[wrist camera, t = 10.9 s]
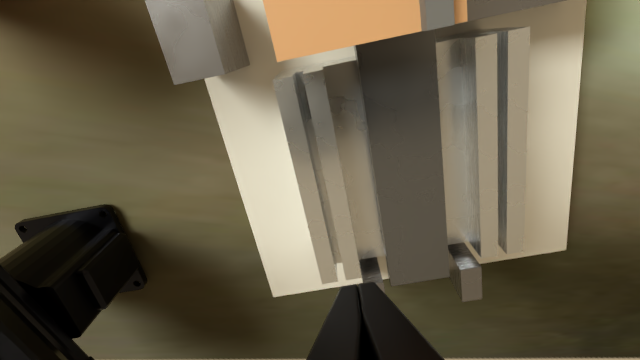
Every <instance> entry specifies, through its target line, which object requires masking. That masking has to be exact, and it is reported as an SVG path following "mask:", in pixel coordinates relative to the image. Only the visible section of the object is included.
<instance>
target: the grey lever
mask: <svg viewBox="0 0 640 360" xmlns="http://www.w3.org/2000/svg"><path fill="white" fill-rule="evenodd" d="M354 50H355V57H356V64H357V70H358V77H359V84H360V90H361V97H362V104H363V111H364V117H365V124H366V131H367V137H368V144H369V151H370V157H371V164H372V171H373V177H374V184H375V191H376V197H377V204H378V211H379V217H380V224H381V231H382V237H383V244H384V251H385V257H386V264H387V271H388V277H389V280H390V284H391V286H396V285H402V284H409V283H415V282H421V281H428V280H434V279H440V278H446V277H450V273H449V257H448V240H447V224H446V207H445V191H444V174H443V157H442V141H441V124H440V108H439V91H438V75H437V58H436V41H435V29H433V30H428V31H420V32H416V33H411V34H406V35H401V36H397V37H392V38H387V39H383V40H378V41H373V42H369V43H364V44H359V45H355V46H354Z"/></svg>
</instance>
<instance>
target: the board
mask: <svg viewBox="0 0 640 360" xmlns="http://www.w3.org/2000/svg"><path fill="white" fill-rule="evenodd" d="M233 1H234V5H235V9H236V13H237V17H238V20H239V24H240V28H241V32H242V36H243V39H244V43H245V47H246V51H247V55H248V58H249V62H250V65H249V66H246V67H243V68H241V69H238V70H235V71H233V72H230V73H227V74H224V75H219V76H215V77H210V78H205V82H206V85H207V89H208V92H209V95H210V98H211V101H212V104H213V108H214V111H215V114H216V117H217V120H218V123H219V127H220V130H221V133H222V136H223V139H224V142H225V146H226V149H227V152H228V155H229V158H230V161H231V165H232V168H233V171H234V174H235V177H236V180H237V184H238V187H239V190H240V193H241V196H242V199H243V203H244V206H245V209H246V212H247V215H248V218H249V222H250V225H251V228H252V231H253V234H254V237H255V241H256V244H257V247H258V250H259V253H260V256H261V260H262V263H263V266H264V269H265V272H266V275H267V279H268V282H269V285H270V288H271V291H272V294H273V297H278V296H284V295H290V294H296V293H302V292H309V291H315V290H321V289H327V288H334V287H340V286H346V285H352V284H358V283H363V281H362V278H358V279H352V280H346V278H345V274H344V269H343V264H342V263H337V275H338V282H333V283H327V284H322V282H321V278H320V273H319V269H318V265H317V261H316V257H315V253H314V249H313V245H312V241H311V237H310V232H309V228H308V224H307V220H306V216H305V212H304V208H303V204H302V200H301V196H300V191H299V187H298V183H297V179H296V175H295V171H294V167H293V163H292V159H291V155H290V150H289V146H288V142H287V138H286V134H285V130H284V126H283V122H282V118H281V114H280V110H279V105H278V101H277V97H276V93H275V89H274V85H273V81H272V80H273V79H275V76H276V75H278V74H279V73H280V72H281V71H284V70H289V69H294V68H299V67H303V66H308V65H313V64H318V63H322V62H327V61H332V60H337V59H341V58H346V57H351V56H355V50H354V46H350V47H345V48H340V49H336V50H331V51H326V52H322V53H317V54H312V55H308V56H303V57H298V58H294V59H289V60H284V61H280V62H277V59H276V55H275V51H274V46H273V42H272V38H271V34H270V29H269V25H268V21H267V17H266V12H265V8H264V4H263V0H233ZM586 5H587V0H566V1H562V2H557V3H552V4H548V5H543V6H538V7H534V8H529V9H524V10H519V11H515V12H510V13H505V14H501V15H496V16H491V17H487V18H482V19H477V20H473V21H468V22H463V23H458V24H455V25H452V26H447V27H442V28H438V29H435V39H436V38H441V37H445V36H450V35H455V34H460V33H464V32H469V31H474V30H479V29H490V28H506V27H528V26H530V53H529V88H528V123H527V158H526V193H525V228H524V252H518V253H512V254H506V253H505V252H504V251H503V250H502V248H501V247H500V246H499V245H498V256H493V257H487V258H481V257H480V256H479V255H478V253H477V252H476V251H475V249H474V248H473V247H472V245H471V244H470V243H469V242H464V243H465V244H466V246H467V247H468V249H469V250H470V251H471V253H472V254H473V256H474V257H475V259H476V260H477V261H478V263H479V264H482V263H489V262H495V261H501V260H507V259H513V258H520V257H526V256H532V255H538V254H544V253H551V252H557V251H563V250H566V245H567V233H568V221H569V209H570V197H571V185H572V173H573V161H574V149H575V137H576V125H577V113H578V101H579V89H580V77H581V65H582V53H583V41H584V29H585V17H586ZM377 260H378V264H379V268H380V272H381V276H382V279H389V277H388V271H387V264H386V257H385V256H379V257H377ZM360 270H361V269H360ZM361 276H362V275H361Z"/></svg>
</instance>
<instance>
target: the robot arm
mask: <svg viewBox="0 0 640 360" xmlns="http://www.w3.org/2000/svg"><path fill="white" fill-rule="evenodd" d="M102 211H104V212H106V214H107V215H105V214H104V213H103V212H102ZM25 227H26V228H27V229H26V228H25ZM15 230H16V232H17V233H18V235H19V237H20V238H21V240H22V241H23V244H21V245H20V246H18V247H17V248H15V249H14V250H12V251H11V252H10V253H8V254H7V255H5V256H4V257H2V258H1V259H0V360H94V359H93V358H92V357H91V356H90V357H88V356H87V354H86V353H85V352H84V351H83V350H82V349H81V348H80V347H79V346H78V345H77V344H76V343H75V342H74V341H73V340H72V339H73V338H78V337H80V336H81V335H82V334H83V333H84V332H85V330H86V329H87V328H88V327H89V325H90V324H91V323H92V322H93V320H94V319H95V318H96V317H97V315H98V314H99V313H100V312H101V310H103V309H106V308H107V307H108V305H109V304H110V303H111V302H112V300H113V299H114V298H115V297H116V295H117V294H118V293H121V292H127V291H133V290H139V289H142V288H143V287H144V286H145V285H146V283H147V279H146V277H145V274H144V272H143V270H142V268H141V266H140V263H139V261H138V259H137V257H136V255H135V253H134V251H133V249H132V247H131V245H130V243H129V241H128V238H127V236H126V235H125V233H124V231H123V228H122V226H121V224H120V222H119V220H118V218H117V216H116V214H115V212H114V210H113V208H112V207H110V206H109V205H98V206H93V207H87V208H82V209H77V210H72V211H66V212H61V213H56V214H50V215H45V216H40V217H35V218H29V219H24V220H22V221H20V222H18V223H17V224H16V225H15ZM137 281H139V282H140V283H139V282H137ZM306 360H444V358H443V357H442V356H441V355H440V354H439V353H438V352H437V351H436V350H435V348H434V347H433V346H432V345H431V344H430V343H429V342H428V341H427V340H426V339H425V337H424V336H423V335H422V334H421V333H420V332H419V331H418V330H417V329H416V327H415V326H414V325H413V324H412V323H411V322H410V321H409V320H408V319H407V318H406V316H405V315H404V314H403V313H402V312H401V311H400V310H399V309H398V308H397V306H396V305H395V304H394V303H393V302H392V301H391V300H390V299H389V298H388V296H387V295H386V294H385V293H384V292H383V291H382V290H381V289H380V288H379V287H378V285H377V284H376V283H375V282H366V283H360V284H359V285H358V286H357V285H356V284H353V285H347V286H342V287H341V288H340V290H339V292H338V294H337V296H336V298H335V300H334V302H333V305H332V307H331V309H330V311H329V313H328V315H327V317H326V319H325V321H324V324H323V326H322V328H321V330H320V332H319V334H318V336H317V338H316V340H315V342H314V345H313V347H312V349H311V351H310V353H309V355H308V357H307V359H306Z"/></svg>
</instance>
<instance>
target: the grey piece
mask: <svg viewBox="0 0 640 360" xmlns="http://www.w3.org/2000/svg"><path fill="white" fill-rule="evenodd" d="M562 1H566V0H467V22H468V21H473V20H477V19H482V18H487V17H491V16H496V15H501V14H505V13H510V12H515V11H519V10H524V9H529V8H534V7H538V6H543V5H548V4H552V3H557V2H562ZM145 3H146V6H147V9H148V11H149V14H150V17H151V20H152V23H153V26H154V29H155V31H156V34H157V37H158V40H159V43H160V46H161V49H162V51H163V54H164V57H165V60H166V63H167V66H168V69H169V71H170V74H171V77H172V80H173V83H174V85H177V84H182V83H186V82H191V81H196V80H201V79H205V78H210V77H215V76H219V75H224V74H227V73H230V72H233V71H235V70H238V69H241V68H243V67H246V66H249V65H250V62H249V58H248V55H247V51H246V47H245V43H244V39H243V36H242V32H241V28H240V24H239V20H238V17H237V13H236V9H235V5H234V1H233V0H145ZM462 23H463V22H462ZM435 41H436V58H437V75H438V91H439V108H440V124H441V141H442V157H443V174H444V191H445V207H446V224H447V240H448V257H449V273H450V277H449V278H450V280H451V282H452V284H453V286H454V287H455V289H456V291H457V293H458V295H459V297H460V298H461V300H462V302H466V301H472V300H479V299H482V269H481V266H480V264H479V263H478V261H477V260H476V259H475V257H474V256H473V254H472V253H471V251H470V250H469V249H468V247H467V246H466V244H465V243H464V242H469V243H470V244H471V245H472V247H473V248H474V249H475V251H476V252H477V253H478V255H479V256H480V257H481V258H487V257H493V256H498V245H499V246H500V247H501V248H502V250H503V251H504V252H505V253H506V254H512V253H518V252H524V228H525V193H526V158H527V123H528V88H529V53H530V26H528V27H506V28H490V29H479V30H474V31H469V32H464V33H460V34H455V35H450V36H445V37H441V38H436V39H435ZM272 81H273V85H274V89H275V93H276V97H277V101H278V105H279V110H280V114H281V118H282V122H283V126H284V130H285V134H286V138H287V142H288V146H289V150H290V155H291V159H292V163H293V167H294V171H295V175H296V179H297V183H298V187H299V191H300V196H301V200H302V204H303V208H304V212H305V216H306V220H307V224H308V228H309V232H310V237H311V241H312V245H313V249H314V253H315V257H316V261H317V265H318V269H319V273H320V278H321V282H322V284H327V283H333V282H338V275H337V263H342V264H343V269H344V274H345V278H346V280H352V279H358V278H362V281H363V283H366V282H375V283H376V284H377V285H378V287H379V288H380V289H381V290H382V291H383V292H384V293H385V290H384V284H383V279H382V276H381V272H380V268H379V264H378V260H377V257H379V256H385V251H384V244H383V237H382V231H381V224H380V217H379V211H378V204H377V197H376V191H375V184H374V177H373V171H372V164H371V157H370V151H369V144H368V137H367V131H366V124H365V117H364V111H363V104H362V97H361V90H360V84H359V77H358V70H357V64H356V57H355V56H351V57H346V58H341V59H337V60H332V61H327V62H322V63H318V64H313V65H308V66H303V67H299V68H294V69H289V70H284V71H281V72H280V73H279V74H278V75H276V76H275V79H273V80H272ZM360 269H361V270H360ZM361 275H362V276H361Z"/></svg>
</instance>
